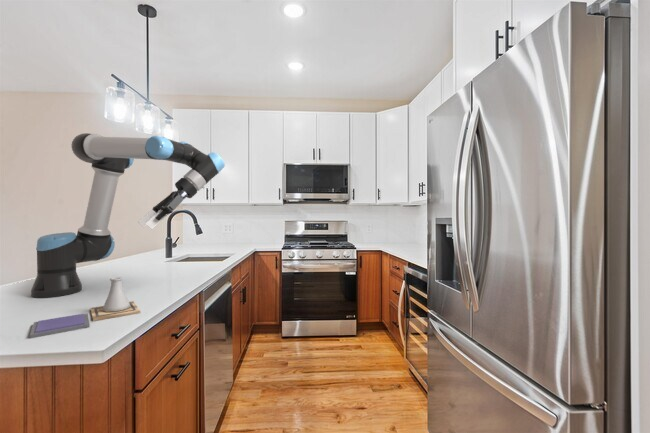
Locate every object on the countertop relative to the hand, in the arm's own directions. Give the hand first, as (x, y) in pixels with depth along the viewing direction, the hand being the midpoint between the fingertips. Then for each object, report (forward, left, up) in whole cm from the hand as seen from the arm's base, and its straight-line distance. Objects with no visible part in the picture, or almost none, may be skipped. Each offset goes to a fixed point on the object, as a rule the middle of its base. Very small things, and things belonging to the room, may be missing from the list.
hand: (144, 225), depth 106 cm
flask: (+2, -8, -27) cm, 28 cm away
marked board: (+2, -9, -27) cm, 29 cm away
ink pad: (+8, -22, -27) cm, 36 cm away
